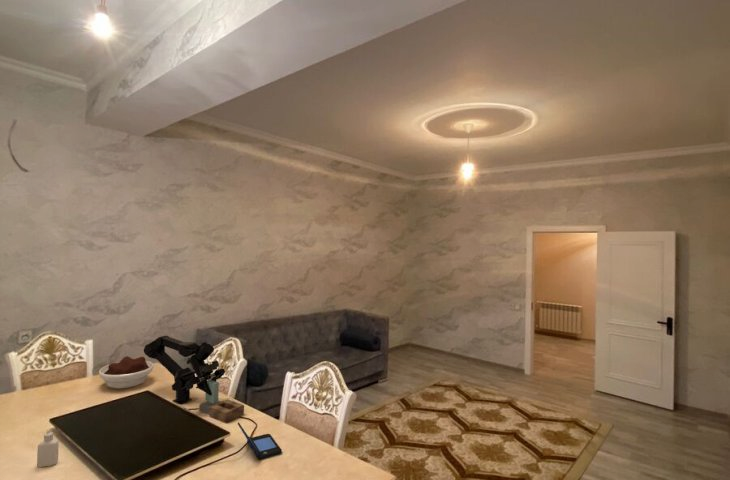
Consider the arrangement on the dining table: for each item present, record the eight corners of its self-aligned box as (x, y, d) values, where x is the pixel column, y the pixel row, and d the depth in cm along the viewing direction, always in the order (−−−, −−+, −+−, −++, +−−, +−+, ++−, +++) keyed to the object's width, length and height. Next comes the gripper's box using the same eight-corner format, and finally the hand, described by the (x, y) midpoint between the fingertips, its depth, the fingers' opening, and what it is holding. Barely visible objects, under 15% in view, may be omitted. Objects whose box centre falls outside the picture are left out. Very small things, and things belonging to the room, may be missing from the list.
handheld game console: (282, 454, 145) (283, 430, 145) (247, 464, 138) (247, 438, 138) (269, 436, 158) (270, 413, 158) (236, 444, 151) (237, 420, 151)
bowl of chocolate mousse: (90, 386, 203) (91, 357, 203) (139, 373, 223) (140, 347, 223) (110, 398, 188) (111, 367, 188) (161, 383, 209) (162, 356, 209)
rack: (209, 416, 172) (209, 406, 172) (227, 408, 181) (227, 399, 181) (226, 423, 167) (226, 413, 167) (243, 414, 176) (244, 404, 176)
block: (205, 400, 180) (205, 381, 180) (209, 398, 182) (210, 379, 182) (213, 403, 177) (214, 384, 177) (218, 401, 179) (218, 382, 179)
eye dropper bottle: (47, 459, 136) (48, 425, 136) (60, 462, 135) (61, 428, 135) (34, 466, 132) (35, 431, 132) (47, 469, 131) (48, 434, 131)
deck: (199, 410, 178) (199, 404, 178) (211, 405, 184) (212, 399, 184) (210, 415, 174) (210, 408, 174) (223, 409, 180) (223, 403, 180)
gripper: (189, 361, 173) (205, 391, 168) (223, 351, 189) (238, 378, 184) (178, 375, 177) (193, 404, 172) (212, 364, 193) (226, 391, 188)
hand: (213, 394), depth 179 cm, fingers closed on block, 2 cm apart
